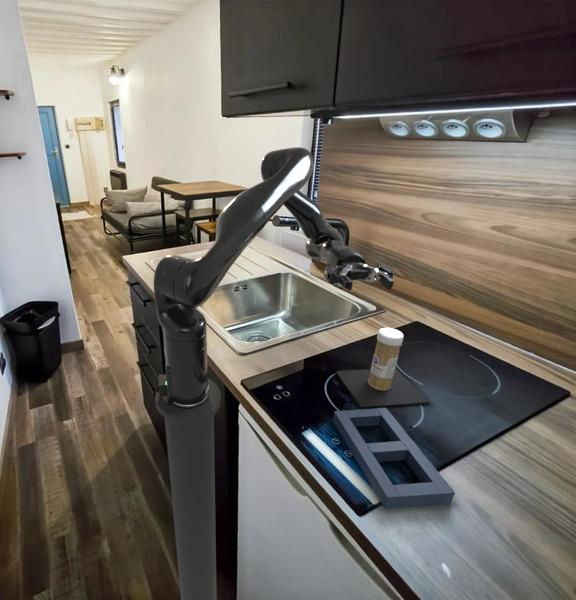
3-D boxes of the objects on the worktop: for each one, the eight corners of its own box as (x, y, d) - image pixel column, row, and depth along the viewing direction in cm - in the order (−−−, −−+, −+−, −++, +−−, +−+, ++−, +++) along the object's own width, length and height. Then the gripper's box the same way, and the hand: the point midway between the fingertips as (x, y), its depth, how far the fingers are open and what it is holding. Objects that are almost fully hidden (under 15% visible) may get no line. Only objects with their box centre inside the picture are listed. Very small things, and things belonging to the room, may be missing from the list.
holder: (384, 508, 55) (387, 497, 54) (332, 420, 72) (334, 411, 71) (450, 503, 55) (455, 492, 54) (383, 417, 72) (386, 407, 71)
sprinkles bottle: (362, 381, 81) (373, 329, 76) (379, 376, 82) (391, 325, 77) (378, 393, 77) (391, 339, 72) (396, 389, 78) (409, 335, 73)
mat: (361, 408, 74) (361, 406, 74) (335, 373, 85) (335, 371, 85) (428, 403, 75) (429, 401, 74) (394, 369, 85) (395, 367, 85)
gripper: (317, 248, 94) (340, 270, 79) (374, 247, 93) (407, 268, 78) (314, 276, 97) (335, 301, 82) (369, 274, 96) (400, 300, 81)
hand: (370, 285), depth 80 cm, fingers open, 8 cm apart
